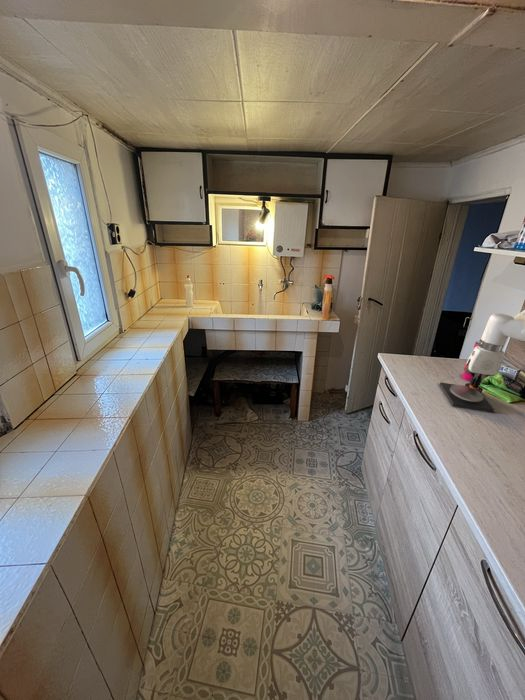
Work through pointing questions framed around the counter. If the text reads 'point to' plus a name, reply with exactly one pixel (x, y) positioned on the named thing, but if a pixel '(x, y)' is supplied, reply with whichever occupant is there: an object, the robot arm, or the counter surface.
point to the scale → (459, 402)
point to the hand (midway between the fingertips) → (473, 386)
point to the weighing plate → (466, 393)
